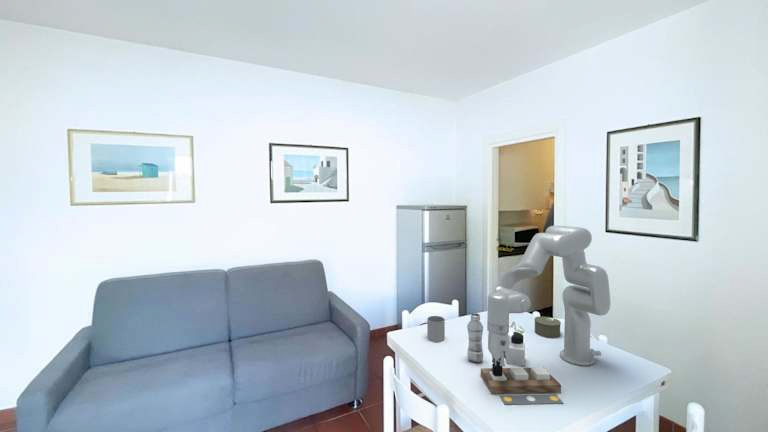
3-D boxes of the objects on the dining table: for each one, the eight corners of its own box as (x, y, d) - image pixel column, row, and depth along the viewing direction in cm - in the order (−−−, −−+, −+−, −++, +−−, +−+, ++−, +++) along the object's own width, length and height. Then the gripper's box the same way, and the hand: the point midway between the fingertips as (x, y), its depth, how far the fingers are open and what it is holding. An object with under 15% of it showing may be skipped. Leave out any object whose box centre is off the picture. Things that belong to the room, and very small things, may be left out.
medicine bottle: (524, 358, 138) (525, 331, 138) (524, 366, 132) (524, 338, 131) (507, 355, 141) (507, 329, 141) (505, 363, 135) (506, 335, 134)
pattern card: (555, 395, 113) (555, 393, 113) (563, 403, 108) (563, 402, 108) (499, 396, 112) (499, 394, 112) (504, 404, 108) (504, 403, 108)
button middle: (522, 375, 122) (522, 367, 122) (528, 382, 117) (528, 374, 117) (509, 375, 122) (510, 367, 122) (515, 382, 117) (515, 374, 117)
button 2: (543, 374, 122) (543, 367, 122) (549, 382, 117) (550, 374, 117) (530, 375, 122) (530, 367, 122) (536, 382, 117) (537, 374, 117)
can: (529, 332, 165) (529, 319, 165) (541, 327, 172) (541, 314, 172) (553, 340, 156) (553, 327, 155) (564, 334, 163) (565, 321, 162)
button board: (543, 374, 126) (543, 367, 126) (561, 393, 114) (561, 385, 114) (480, 375, 125) (480, 368, 125) (491, 394, 113) (491, 386, 113)
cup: (447, 337, 160) (447, 318, 160) (440, 343, 153) (440, 323, 153) (431, 333, 165) (431, 314, 164) (424, 339, 158) (424, 320, 157)
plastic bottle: (484, 364, 134) (484, 318, 133) (467, 363, 135) (467, 316, 134) (482, 357, 140) (482, 312, 139) (466, 356, 141) (466, 311, 140)
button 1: (501, 378, 122) (501, 371, 122) (506, 386, 117) (506, 378, 117) (489, 379, 122) (489, 371, 122) (493, 386, 117) (493, 378, 117)
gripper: (516, 335, 111) (515, 386, 112) (500, 319, 126) (499, 364, 127) (495, 335, 111) (494, 386, 112) (481, 319, 126) (480, 364, 127)
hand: (497, 374), depth 119 cm, fingers closed
